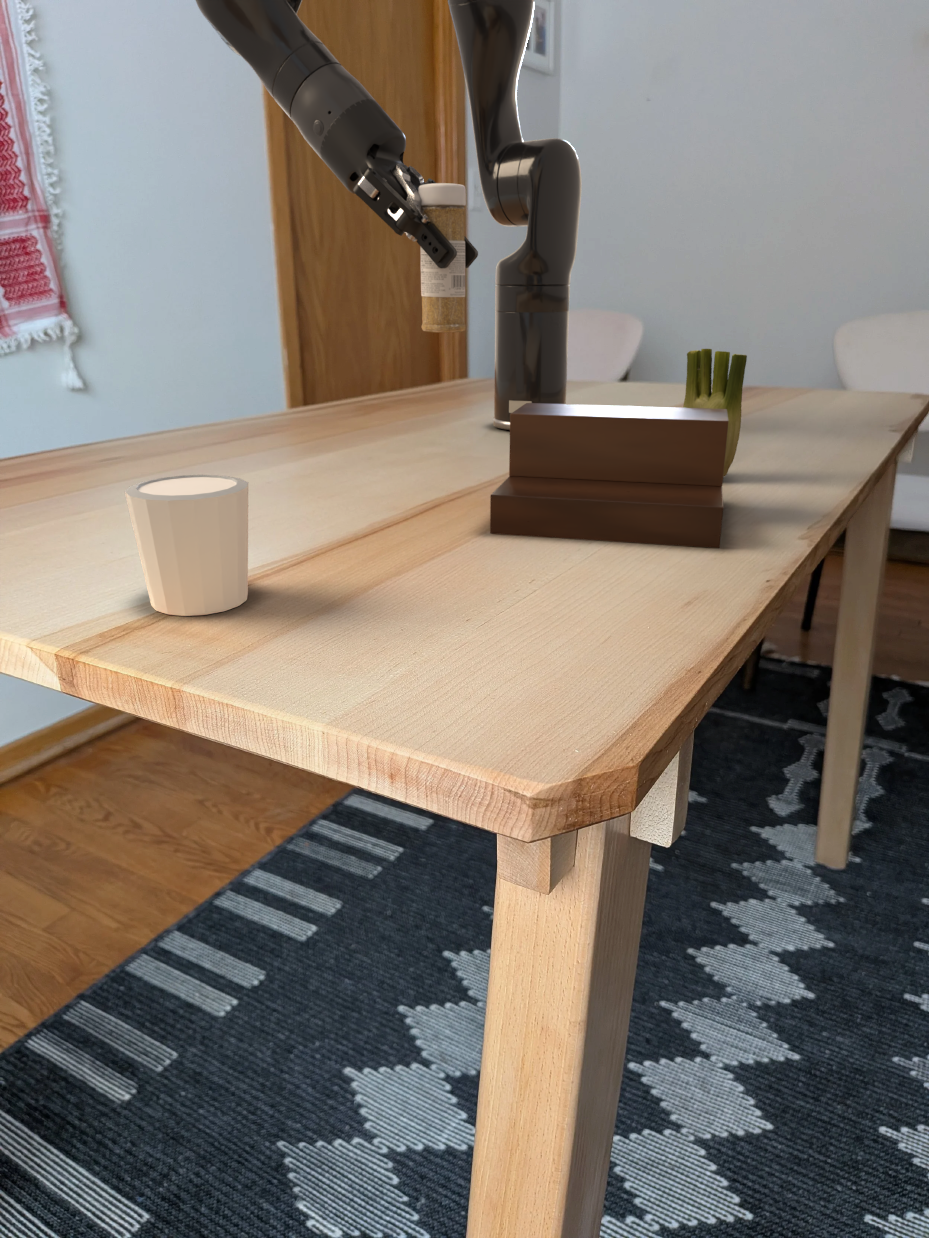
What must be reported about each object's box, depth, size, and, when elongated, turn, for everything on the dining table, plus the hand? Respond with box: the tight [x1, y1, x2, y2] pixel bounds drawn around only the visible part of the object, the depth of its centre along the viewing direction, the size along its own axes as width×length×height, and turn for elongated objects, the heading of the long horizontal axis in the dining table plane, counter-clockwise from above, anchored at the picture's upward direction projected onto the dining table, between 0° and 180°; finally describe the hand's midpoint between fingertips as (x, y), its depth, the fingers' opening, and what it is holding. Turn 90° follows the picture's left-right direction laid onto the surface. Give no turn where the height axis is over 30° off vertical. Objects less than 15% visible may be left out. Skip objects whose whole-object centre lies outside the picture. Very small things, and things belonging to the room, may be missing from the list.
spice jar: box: [418, 182, 467, 334], centre depth 89 cm, size 5×5×14 cm
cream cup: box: [124, 474, 249, 617], centre depth 54 cm, size 7×7×7 cm
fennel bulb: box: [682, 348, 748, 478], centre depth 86 cm, size 6×5×12 cm
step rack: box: [489, 403, 729, 549], centre depth 72 cm, size 14×17×8 cm
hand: (460, 261), depth 89 cm, fingers closed on spice jar, 4 cm apart
